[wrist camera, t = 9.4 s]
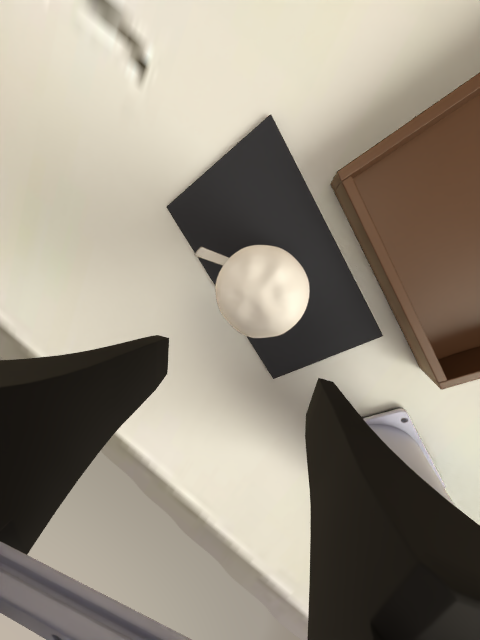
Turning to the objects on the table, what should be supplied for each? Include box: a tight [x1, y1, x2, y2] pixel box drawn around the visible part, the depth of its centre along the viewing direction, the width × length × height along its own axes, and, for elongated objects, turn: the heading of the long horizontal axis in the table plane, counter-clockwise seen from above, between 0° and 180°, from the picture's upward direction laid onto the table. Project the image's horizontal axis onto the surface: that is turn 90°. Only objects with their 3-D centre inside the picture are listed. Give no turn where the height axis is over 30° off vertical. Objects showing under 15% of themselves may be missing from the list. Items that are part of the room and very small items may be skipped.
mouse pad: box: [167, 115, 383, 379], centre depth 18 cm, size 18×10×1 cm, turn 32°
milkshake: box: [195, 245, 309, 338], centre depth 14 cm, size 4×5×10 cm
